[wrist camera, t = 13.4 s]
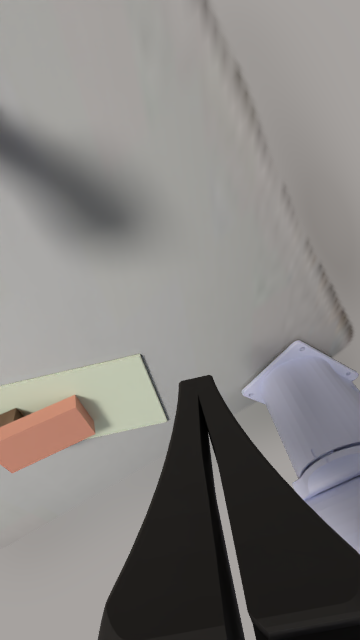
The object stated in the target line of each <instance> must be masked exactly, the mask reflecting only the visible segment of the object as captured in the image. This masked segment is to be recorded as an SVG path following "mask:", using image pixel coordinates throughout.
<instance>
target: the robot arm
mask: <svg viewBox="0 0 360 640" xmlns="http://www.w3.org/2000/svg"><path fill="white" fill-rule="evenodd" d="M301 347H302V348H301ZM357 377H358V373H357V372H356V371H354V370H353V369H351V368H349V367H347V366H345V365H344V364H342V363H340V362H338V361H336V360H335V359H333V358H331V357H329V356H327V355H326V354H324V353H322V352H320V351H318V350H317V349H315V348H313V347H311V346H309V345H308V344H306V343H304V342H302V341H300V340H297V341H295V342H293V343H292V344H291V345H290V346H289V347H288V348H287V349H286V350H285V351H284V352H282V353H281V354H280V355H279V356H278V357H277V358H276V359H275V360H274V361H273V362H272V363H271V364H270V365H268V366H267V367H266V368H265V369H264V370H263V371H262V372H261V373H260V374H259V375H258V376H257V377H256V378H255V379H253V380H252V381H251V382H250V383H249V384H248V385H247V386H246V387H245V388H244V389H243V390H242V394H243V396H245V397H248V398H250V399H253V400H255V401H258V402H261V403H263V404H266V406H267V408H268V411H269V413H270V415H271V417H272V419H273V422H274V424H275V427H276V429H277V431H278V433H279V436H280V438H281V440H282V443H283V444H284V447H285V449H286V452H287V454H288V456H289V458H290V461H291V463H292V465H293V467H294V470H295V472H296V474H297V476H298V480H296V481H295V482H293V483H292V485H293V488H294V489H293V488H292V487H291V486H290V485H289V484H288V483H287V482H286V481H285V480H284V479H283V478H282V477H281V476H280V475H279V473H278V472H277V471H276V470H275V469H274V468H273V466H272V465H271V464H270V463H269V462H268V461H267V460H266V458H265V457H264V456H263V455H262V454H261V452H260V451H259V450H258V449H257V447H256V446H255V445H254V444H253V442H252V441H251V440H250V438H249V437H248V436H247V434H246V433H245V432H244V430H243V429H242V428H241V426H240V425H239V424H238V422H237V421H236V419H235V417H234V416H233V414H232V413H231V411H230V410H229V408H228V407H227V405H226V403H225V402H224V400H223V398H222V396H221V395H220V393H219V391H218V389H217V387H216V385H215V382H214V380H213V377H212V376H211V375H207V376H202V377H198V378H193V379H189V380H184V381H181V382H180V383H179V394H178V404H177V410H176V416H175V421H174V427H173V431H172V436H171V440H170V444H169V448H168V452H167V455H166V459H165V462H164V466H163V469H162V472H161V475H160V478H159V481H158V485H157V487H156V490H155V493H154V495H153V498H152V501H151V504H150V506H149V509H148V511H147V514H146V517H145V519H144V522H143V524H142V526H141V528H140V531H139V533H138V536H137V538H136V540H135V543H134V545H133V547H132V549H131V552H130V554H129V556H128V558H127V560H126V562H125V565H124V567H123V569H122V571H121V573H120V575H119V577H118V579H117V581H116V583H115V585H114V587H113V589H112V591H111V593H110V595H109V597H108V600H107V602H106V605H105V608H104V612H103V617H102V621H101V626H100V631H99V636H98V640H245V638H244V633H243V628H242V623H241V618H240V614H239V609H238V604H237V599H236V594H235V590H234V584H233V580H232V575H231V570H230V565H229V560H228V555H227V550H226V545H225V540H224V535H223V530H222V525H221V520H220V515H219V510H218V505H217V500H216V493H215V487H214V478H213V470H212V462H211V453H210V445H209V436H210V440H211V443H212V446H213V450H214V453H215V456H216V460H217V463H218V467H219V472H220V476H221V481H222V486H223V490H224V496H225V501H226V506H227V510H228V515H229V520H230V525H231V530H232V535H233V540H234V545H235V550H236V555H237V560H238V565H239V570H240V575H241V580H242V585H243V590H244V595H245V600H246V605H247V610H248V613H249V616H250V618H251V620H252V623H253V627H254V631H255V636H256V640H360V391H359V390H358V389H357V387H356V386H355V385H354V384H353V383H352V381H353V380H355V379H356V378H357ZM208 433H209V436H208ZM294 490H295V491H294Z"/></svg>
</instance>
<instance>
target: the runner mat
mask: <svg viewBox="0 0 360 640" xmlns="http://www.w3.org/2000/svg"><path fill="white" fill-rule="evenodd" d="M73 395H76V396H77V398H78V399H79V401H80V402H81V404H82V405H83V406H84V408H85V409H86V411H87V412H88V413H89V415H90V416H91V418H92V419H93V421H94V426H95V435H92V436H90V437H88V438H86V439H90V438H95V437H99V436H104V435H108V434H113V433H118V432H122V431H127V430H131V429H136V428H140V427H145V426H150V425H154V424H159V423H163V422H167V418H166V415H165V413H164V410H163V408H162V406H161V403H160V401H159V398H158V396H157V394H156V391H155V389H154V386H153V384H152V382H151V379H150V377H149V374H148V372H147V370H146V367H145V365H144V362H143V360H142V358H141V355H140V354H138V355H133V356H129V357H125V358H120V359H116V360H112V361H107V362H103V363H98V364H94V365H90V366H85V367H81V368H77V369H72V370H68V371H64V372H59V373H55V374H51V375H46V376H42V377H38V378H33V379H29V380H25V381H20V382H16V383H12V384H7V385H3V386H0V414H3V413H5V412H7V411H10V410H12V409H15V408H17V409H18V410H19V411H20V412H21V413H22V414H23V415H24V417H25V416H27V415H29V414H32V413H34V412H36V411H38V410H41V409H43V408H45V407H48V406H50V405H52V404H55V403H57V402H59V401H61V400H64V399H66V398H68V397H71V396H73ZM84 440H85V439H84Z"/></svg>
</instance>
